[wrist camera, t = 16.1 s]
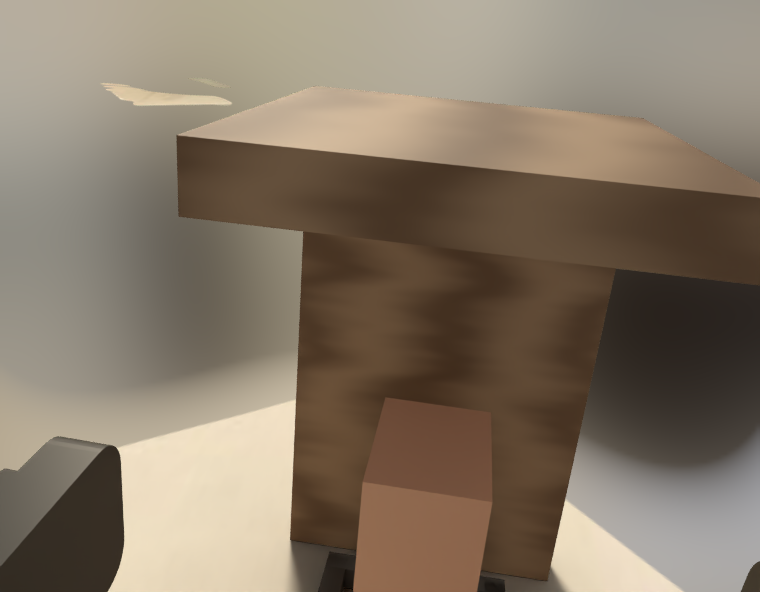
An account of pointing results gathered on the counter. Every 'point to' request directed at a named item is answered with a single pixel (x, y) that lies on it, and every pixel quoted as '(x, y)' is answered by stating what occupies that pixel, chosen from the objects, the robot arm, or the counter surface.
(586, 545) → the counter surface
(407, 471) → the tall terracotta pillar
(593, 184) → the shelf
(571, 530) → the counter surface
